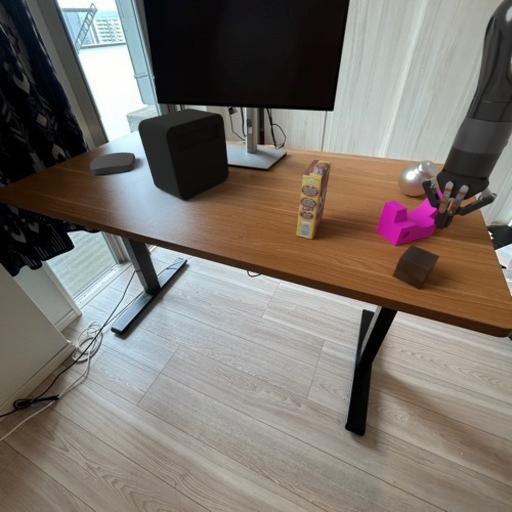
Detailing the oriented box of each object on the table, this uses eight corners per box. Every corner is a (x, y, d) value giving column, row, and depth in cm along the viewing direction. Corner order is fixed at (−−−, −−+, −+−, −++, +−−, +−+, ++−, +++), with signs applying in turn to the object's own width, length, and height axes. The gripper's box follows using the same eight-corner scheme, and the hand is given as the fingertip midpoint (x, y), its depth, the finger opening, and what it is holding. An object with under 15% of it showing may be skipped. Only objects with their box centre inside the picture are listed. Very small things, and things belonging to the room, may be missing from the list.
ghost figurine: (409, 205, 72) (423, 169, 66) (387, 190, 79) (397, 156, 73) (437, 199, 74) (454, 164, 67) (413, 185, 81) (426, 151, 74)
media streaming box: (133, 171, 96) (130, 163, 94) (90, 176, 94) (86, 168, 92) (137, 157, 107) (135, 149, 105) (98, 161, 105) (95, 154, 103)
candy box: (313, 240, 62) (322, 177, 52) (295, 236, 63) (300, 174, 53) (323, 221, 68) (332, 161, 58) (306, 217, 69) (312, 158, 59)
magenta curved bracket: (395, 245, 59) (406, 216, 54) (376, 230, 64) (384, 202, 59) (446, 230, 63) (461, 201, 58) (425, 217, 67) (437, 189, 63)
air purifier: (201, 168, 96) (190, 106, 83) (230, 178, 89) (223, 111, 76) (153, 189, 85) (131, 120, 72) (181, 203, 77) (164, 129, 64)
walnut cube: (429, 275, 52) (439, 256, 49) (419, 289, 49) (429, 269, 46) (403, 263, 55) (411, 244, 51) (392, 276, 52) (400, 256, 49)
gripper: (429, 143, 50) (402, 223, 60) (520, 158, 42) (470, 247, 53) (443, 134, 53) (415, 211, 64) (529, 146, 46) (480, 231, 57)
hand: (440, 227), depth 58 cm, fingers closed
